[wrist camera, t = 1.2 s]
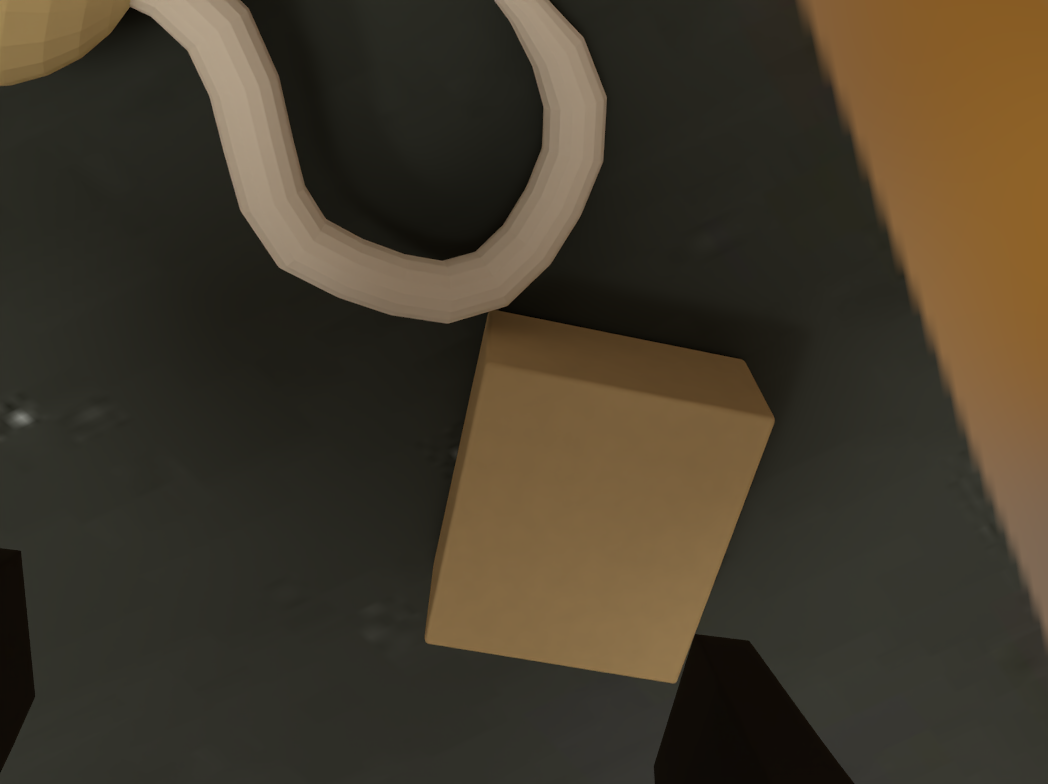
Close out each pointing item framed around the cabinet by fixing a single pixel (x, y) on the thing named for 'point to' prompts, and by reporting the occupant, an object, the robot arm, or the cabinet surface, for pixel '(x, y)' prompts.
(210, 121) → the cabinet surface
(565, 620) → the beige block
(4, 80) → the hook
